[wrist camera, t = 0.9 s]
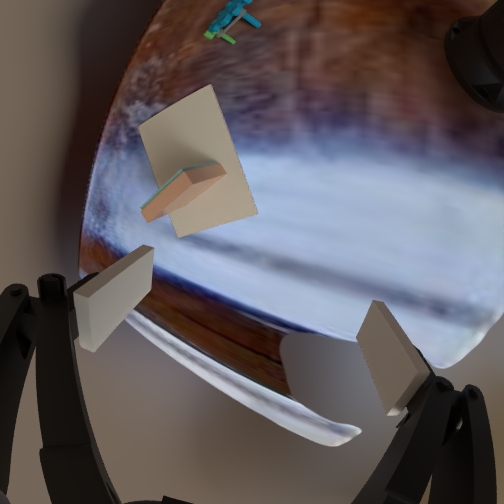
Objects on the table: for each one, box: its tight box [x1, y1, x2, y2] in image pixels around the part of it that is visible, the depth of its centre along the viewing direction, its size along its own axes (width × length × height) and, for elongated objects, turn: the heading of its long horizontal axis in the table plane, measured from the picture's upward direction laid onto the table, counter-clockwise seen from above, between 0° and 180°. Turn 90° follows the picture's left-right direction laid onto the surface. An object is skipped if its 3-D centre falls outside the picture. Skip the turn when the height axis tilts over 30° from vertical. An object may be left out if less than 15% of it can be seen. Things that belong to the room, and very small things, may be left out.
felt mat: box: [138, 84, 258, 238], centre depth 40 cm, size 15×21×1 cm
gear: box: [203, 0, 261, 44], centre depth 27 cm, size 11×6×10 cm
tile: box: [140, 162, 227, 223], centre depth 36 cm, size 2×9×10 cm, turn 125°
